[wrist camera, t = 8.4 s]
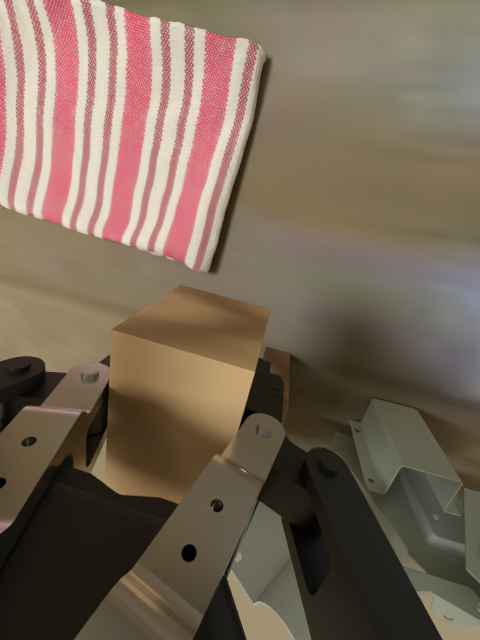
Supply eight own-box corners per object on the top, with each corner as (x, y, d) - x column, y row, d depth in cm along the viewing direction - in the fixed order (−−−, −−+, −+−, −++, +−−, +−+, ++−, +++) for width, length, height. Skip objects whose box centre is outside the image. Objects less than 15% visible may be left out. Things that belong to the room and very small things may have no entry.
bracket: (248, 421, 32) (189, 703, 14) (261, 369, 29) (209, 636, 11) (501, 490, 29) (847, 952, 11) (541, 441, 27) (1091, 948, 8)
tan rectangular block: (270, 309, 12) (251, 385, 7) (217, 494, 16) (182, 623, 11) (180, 284, 12) (96, 338, 7) (154, 473, 17) (92, 588, 12)
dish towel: (-10, -23, 22) (-62, -62, 19) (271, 57, 21) (267, 28, 17) (3, 203, 29) (-34, 202, 25) (216, 274, 27) (205, 282, 24)
